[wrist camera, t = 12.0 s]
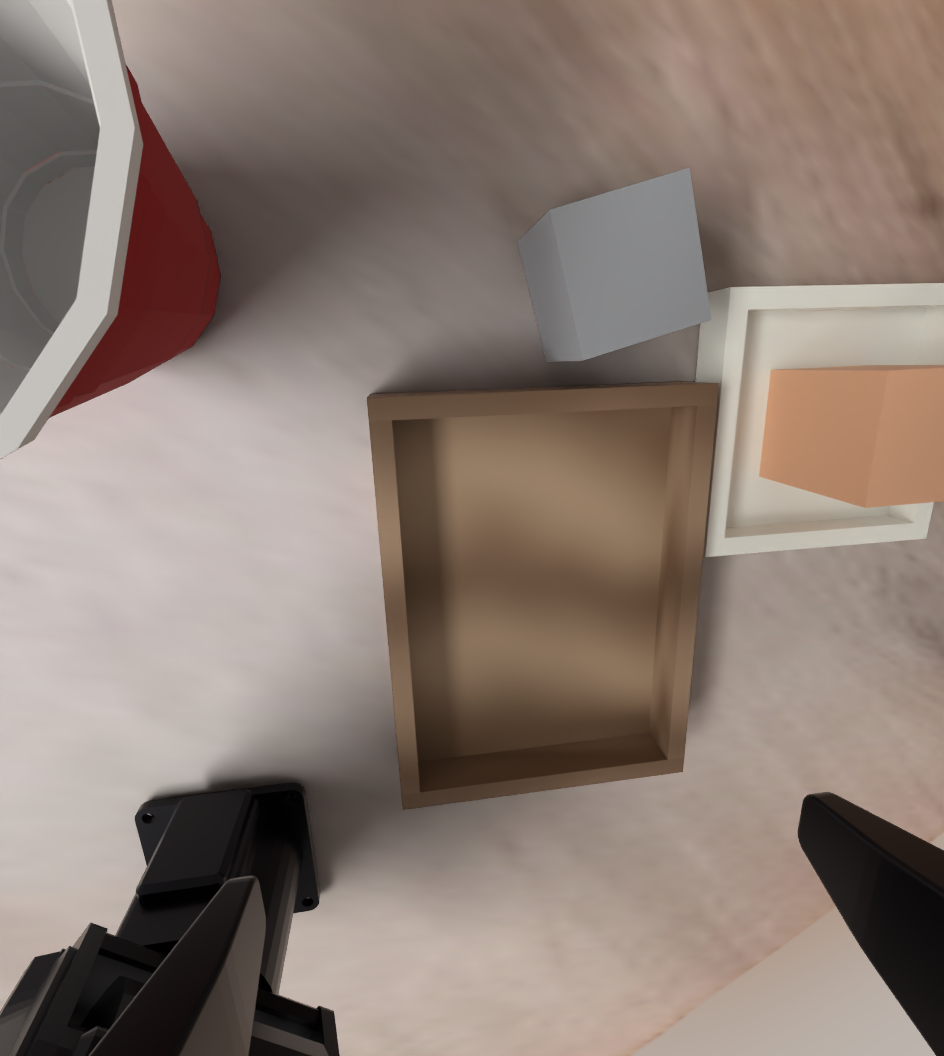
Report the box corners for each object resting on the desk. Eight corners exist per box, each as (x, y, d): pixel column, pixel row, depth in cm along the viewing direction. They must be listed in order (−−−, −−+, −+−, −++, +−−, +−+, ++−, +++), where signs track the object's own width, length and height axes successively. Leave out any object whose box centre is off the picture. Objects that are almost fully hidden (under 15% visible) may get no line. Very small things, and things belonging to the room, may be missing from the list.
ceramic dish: (889, 526, 23) (926, 538, 22) (682, 543, 22) (705, 557, 21) (935, 289, 21) (981, 282, 19) (702, 293, 19) (730, 287, 18)
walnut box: (654, 732, 25) (682, 771, 22) (401, 764, 23) (402, 809, 21) (680, 381, 20) (718, 383, 18) (369, 394, 19) (367, 398, 16)
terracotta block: (868, 365, 21) (1011, 364, 16) (851, 469, 22) (980, 498, 17) (770, 369, 20) (887, 370, 15) (759, 476, 21) (864, 507, 16)
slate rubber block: (649, 329, 20) (711, 320, 16) (545, 362, 19) (582, 360, 16) (628, 208, 18) (689, 167, 15) (516, 242, 18) (549, 209, 14)
